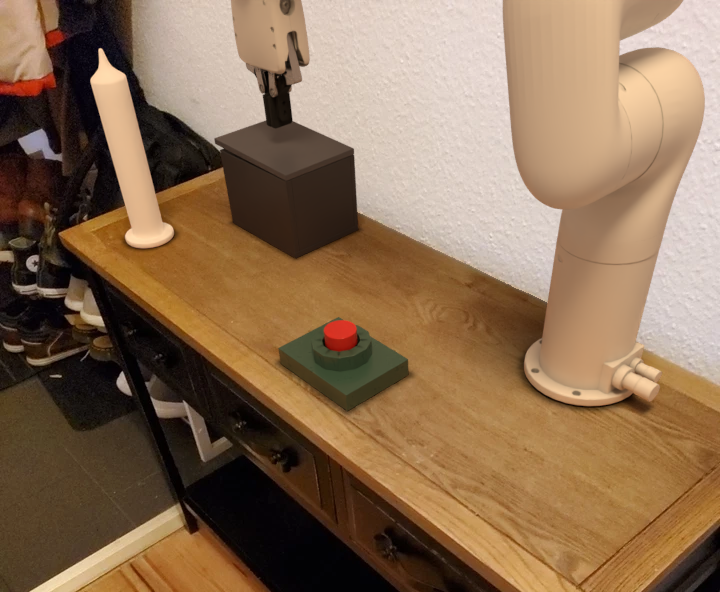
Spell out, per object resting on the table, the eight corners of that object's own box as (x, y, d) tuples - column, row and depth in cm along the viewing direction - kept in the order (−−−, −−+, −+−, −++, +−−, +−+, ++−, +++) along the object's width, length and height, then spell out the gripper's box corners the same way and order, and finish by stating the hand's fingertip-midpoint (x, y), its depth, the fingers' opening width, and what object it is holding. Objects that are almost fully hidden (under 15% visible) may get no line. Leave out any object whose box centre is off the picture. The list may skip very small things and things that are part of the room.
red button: (364, 342, 81) (363, 329, 80) (339, 356, 80) (338, 342, 79) (343, 329, 83) (342, 316, 82) (318, 342, 82) (317, 329, 81)
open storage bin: (232, 222, 111) (219, 149, 104) (293, 197, 116) (285, 126, 109) (295, 258, 103) (286, 181, 95) (358, 229, 108) (354, 154, 100)
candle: (182, 238, 109) (137, 48, 91) (137, 253, 106) (82, 61, 88) (162, 221, 113) (116, 36, 95) (119, 235, 110) (63, 48, 92)
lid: (214, 144, 104) (213, 138, 103) (280, 120, 109) (280, 115, 108) (286, 181, 95) (285, 175, 94) (354, 154, 100) (354, 148, 100)
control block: (408, 375, 83) (408, 345, 80) (347, 411, 79) (345, 381, 76) (339, 332, 90) (337, 303, 87) (280, 363, 86) (275, 334, 83)
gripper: (323, -39, 84) (336, 129, 97) (248, -51, 93) (269, 105, 106) (270, -26, 81) (291, 146, 94) (198, -40, 90) (226, 119, 102)
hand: (279, 124), depth 100 cm, fingers closed
